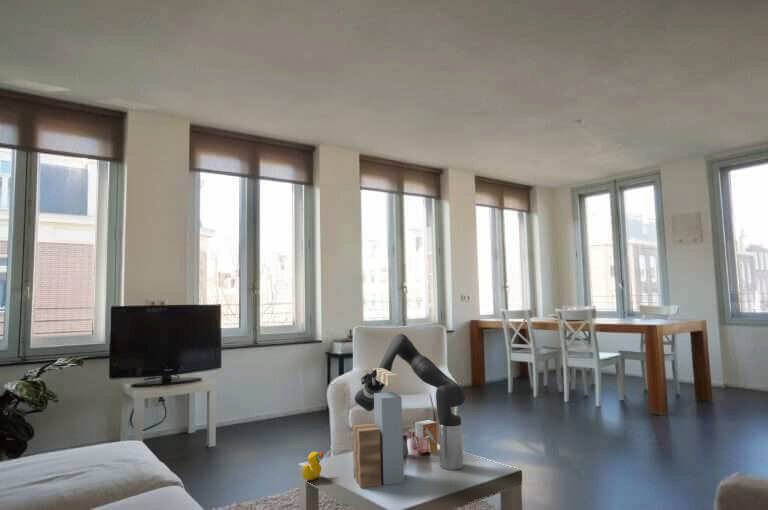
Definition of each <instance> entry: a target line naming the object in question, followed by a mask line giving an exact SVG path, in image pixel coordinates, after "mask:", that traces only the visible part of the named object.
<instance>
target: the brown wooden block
mask: <svg viewBox="0 0 768 510" xmlns="http://www.w3.org/2000/svg"><path fill="white" fill-rule="evenodd" d="M352 444H353V445H352V448H353V449H352V452H353V479H354V478H355V479H354V480H355V482H356V481H357V482H356V484H357V485H358V484H359V485H358V487H359V488H360V489H363V488H364V487H365V488H371V487H372V486H373V487H379V486H380V485H381V486H382V482H381V455H380V429H379V428H378V427H376V426H375V423H374V422H364V423H356V424H355V423H354V424H352ZM373 487H372V488H373Z"/></svg>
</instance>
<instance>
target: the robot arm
mask: <svg viewBox="0 0 768 510" xmlns="http://www.w3.org/2000/svg"><path fill="white" fill-rule="evenodd" d="M396 356H398V357H399V358H401V359H402V360H403V361H405V362H406V363H407V364H408V365H409V366H410V367H411V369H412V371H413V373H415V375H416V376H417V377H418V378H419V379H420V380H421V381H422V382H423V383H426V384H427V385H429V386H432V387H435V388H436V391H435V401H436V415H437V418H438V427H439V429H438V430H439V432H438V433H439V454H440V457H439V459H440V467H441V468H442V469H444V470H450V471H451V470H462V469H463V468H464V448H463V447H464V445H463V444H464V442H463V437H462V435H463V433H462V418H461V416H460V415H458V414H454V413H452V408H456V407H460V406H462V405H463V404H464V403H465V400H466V394H465V392H464V389H463V388H462V387H461V385H459V384H458V383H457V382H455V381H454V380H453V379H451V378H450V377H449V376H447V375H446V374H445V373H444V372H443V371H442V370H441V369H440V368H439V367H438V366H437V365H436V364H435V363H434V362H433V361H431V359H430V358H428V357H427V356H425V355H422V354H421V353H420V351H419V350H418V349H417V347H416V346H415V345H414V344H413V342H412V341H411V340H410V338H409V337H408V336H406V335H405V334H404V333H399V334H397V335H395V336H394V337H393V338H392V340H391V342H390V343H389V345H388V348H387V350H386V352H385V354H384V356H383V358H382V361H381V362H380V365H379V366H378V368H383V369H386V370H388V371H390V372H392V368H393V363H394V362H395V361H394V360H395V358H396ZM376 375H377V372H376V370H374V371H373V370H372V372H371V373H366V374H365V375H364V376H362V377H361V378H360V381H361V385H363V388H361V389H360V390H359V391H358V392H356V394H355V396H354V401H355V403H356V404H357V405H359V406H360V407H362V408H363V409H364V410H366V411H368V412H372V411H373V410H374V393H382V390H383V389H384V387H385V386H386V385H385V384H383V383H381V382H379V381H378V380H376V379H375V377H376Z"/></svg>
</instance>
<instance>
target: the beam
mask: <svg viewBox="0 0 768 510" xmlns="http://www.w3.org/2000/svg"><path fill="white" fill-rule="evenodd" d="M374 370H376V372H377V375H376V377H375V379H376V380H378V381H379V382H381V383H383V384H385V386H386V387H390V386H392V387H393V386H398V382H399V381H398V374H396V373H395V372H392V371H391V372H390V371H388V370H386V369H383V368H379V367H378V368H373V369H372V372H373V371H374Z"/></svg>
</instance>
